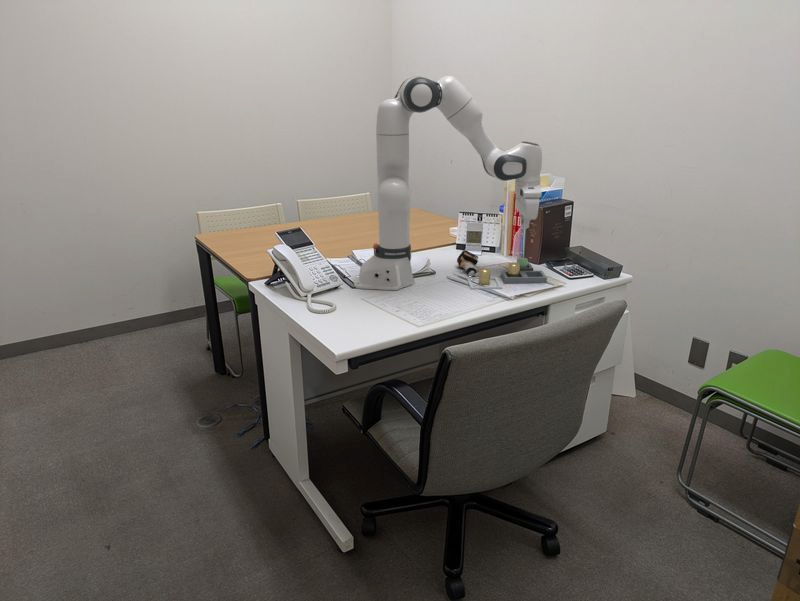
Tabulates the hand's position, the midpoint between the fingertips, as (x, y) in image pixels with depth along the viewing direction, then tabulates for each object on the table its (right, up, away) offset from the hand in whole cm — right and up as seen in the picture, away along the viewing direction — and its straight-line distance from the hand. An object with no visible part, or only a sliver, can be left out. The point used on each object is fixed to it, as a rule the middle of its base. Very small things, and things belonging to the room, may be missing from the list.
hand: (524, 226), depth 201 cm
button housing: (0, -18, +7) cm, 19 cm away
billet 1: (-16, -22, -4) cm, 27 cm away
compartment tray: (-1, -21, -1) cm, 21 cm away
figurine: (-20, -17, +10) cm, 28 cm away
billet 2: (-4, -20, -1) cm, 20 cm away
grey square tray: (-16, -22, -4) cm, 28 cm away
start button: (0, -15, +6) cm, 17 cm away
